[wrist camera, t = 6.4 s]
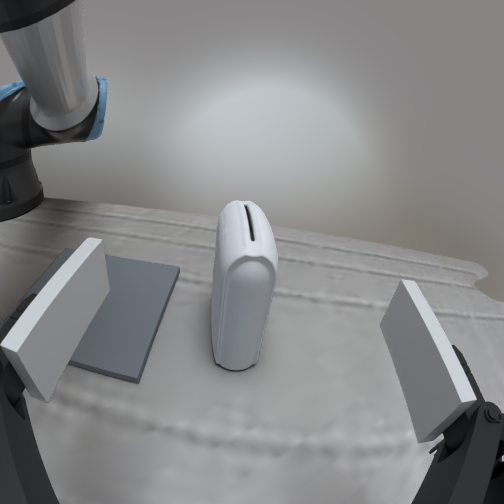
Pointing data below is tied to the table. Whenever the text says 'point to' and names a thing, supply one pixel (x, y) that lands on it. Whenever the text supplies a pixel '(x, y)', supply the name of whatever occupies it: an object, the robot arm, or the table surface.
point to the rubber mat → (120, 315)
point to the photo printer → (242, 284)
